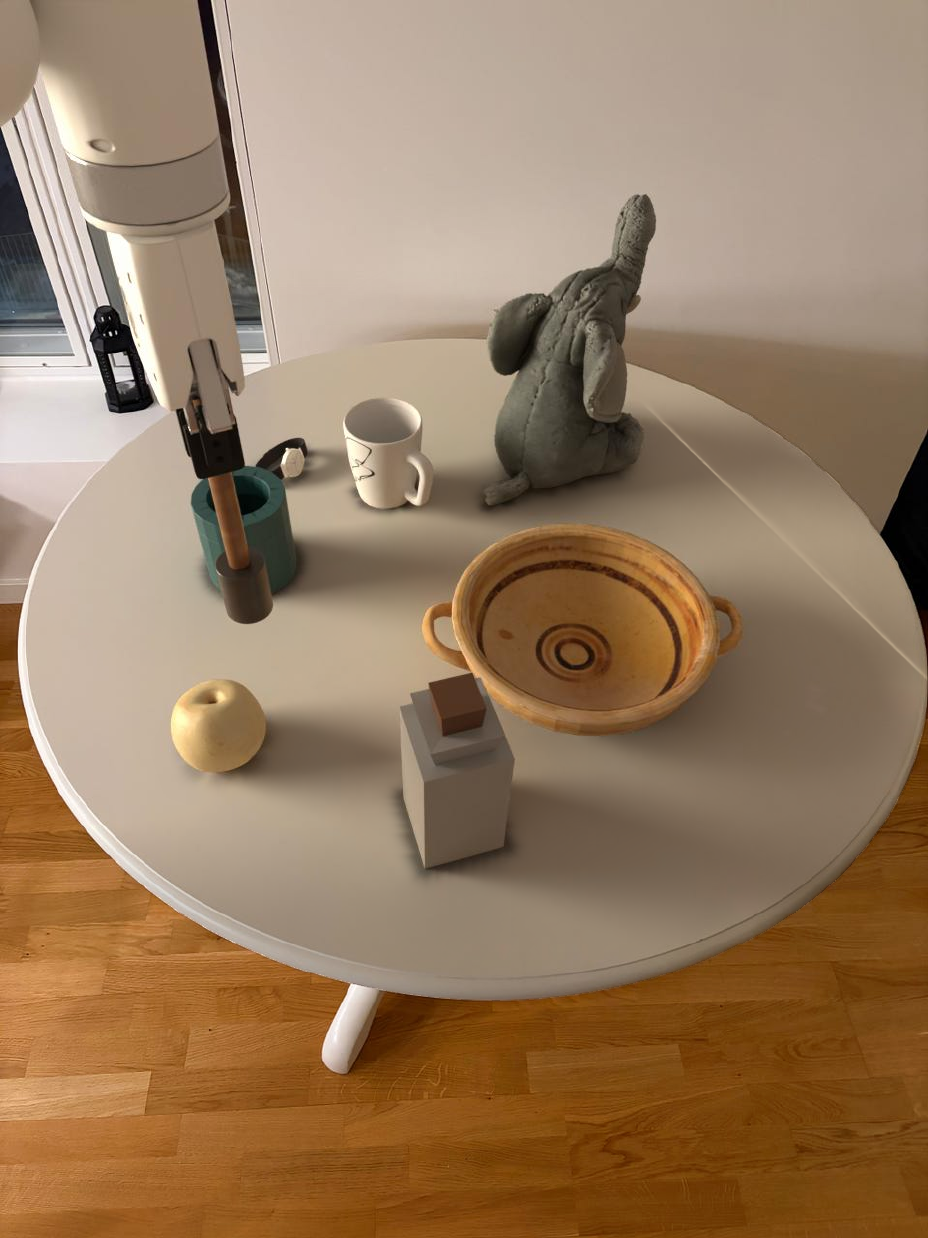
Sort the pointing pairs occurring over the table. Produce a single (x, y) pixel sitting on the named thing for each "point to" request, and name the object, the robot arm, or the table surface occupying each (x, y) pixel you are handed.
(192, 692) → the apple
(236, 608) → the brush
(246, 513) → the teal hollow cylinder
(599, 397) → the stuffed elephant
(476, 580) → the ceramic bowl
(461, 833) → the perfume bottle
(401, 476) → the mug
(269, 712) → the table surface
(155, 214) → the robot arm
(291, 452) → the watch
